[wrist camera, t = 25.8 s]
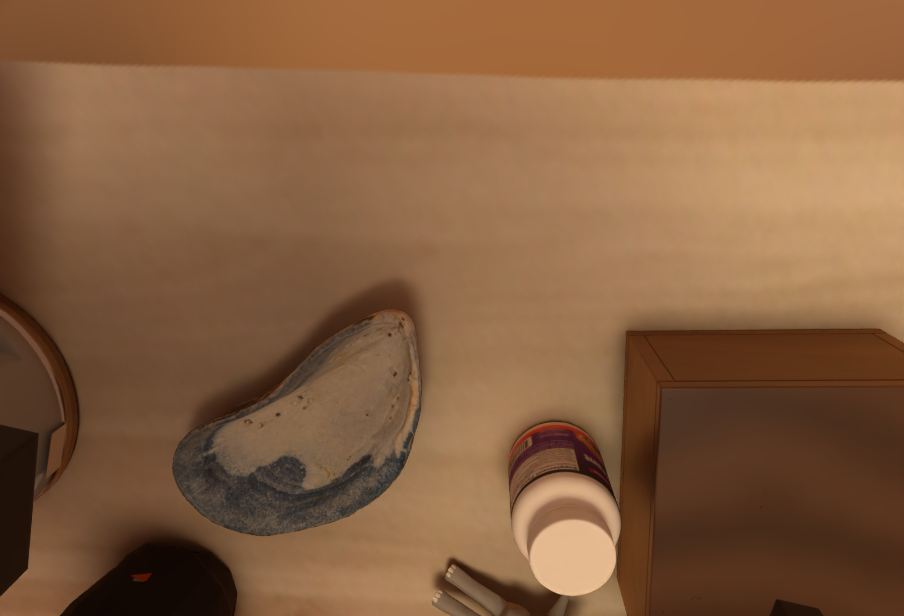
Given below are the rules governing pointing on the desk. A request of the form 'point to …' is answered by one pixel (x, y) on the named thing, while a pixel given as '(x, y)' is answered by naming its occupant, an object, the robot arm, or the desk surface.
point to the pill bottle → (563, 508)
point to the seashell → (311, 435)
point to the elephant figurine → (483, 598)
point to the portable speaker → (160, 586)
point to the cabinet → (762, 472)
